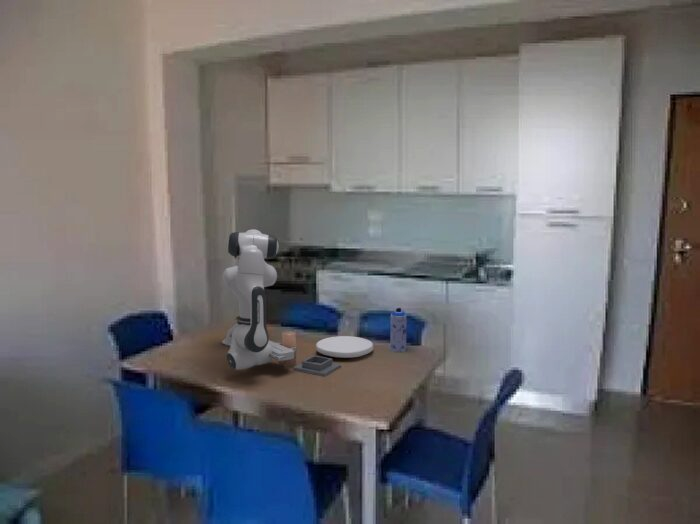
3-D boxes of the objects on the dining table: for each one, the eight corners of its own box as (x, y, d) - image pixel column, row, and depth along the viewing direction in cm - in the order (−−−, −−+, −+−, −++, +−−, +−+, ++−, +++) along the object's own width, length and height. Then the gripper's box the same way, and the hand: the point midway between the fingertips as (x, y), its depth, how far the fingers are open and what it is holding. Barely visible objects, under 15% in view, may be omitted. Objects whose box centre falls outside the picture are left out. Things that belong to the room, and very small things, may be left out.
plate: (324, 332, 293) (377, 336, 288) (324, 345, 293) (377, 349, 288) (309, 343, 265) (367, 347, 260) (308, 358, 266) (367, 362, 261)
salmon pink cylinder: (279, 364, 260) (279, 334, 258) (287, 360, 265) (287, 330, 263) (291, 367, 257) (290, 335, 255) (298, 363, 262) (298, 332, 260)
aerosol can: (403, 352, 276) (403, 310, 273) (387, 350, 279) (387, 309, 276) (408, 348, 283) (409, 307, 280) (393, 346, 286) (393, 305, 283)
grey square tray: (293, 369, 254) (293, 361, 253) (310, 361, 265) (310, 353, 264) (325, 376, 246) (324, 367, 245) (341, 367, 257) (340, 358, 256)
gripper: (277, 351, 243) (304, 345, 252) (251, 340, 259) (277, 334, 268) (277, 366, 244) (304, 359, 253) (251, 354, 260) (278, 348, 269)
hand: (290, 346), depth 261 cm, fingers closed on salmon pink cylinder, 6 cm apart
